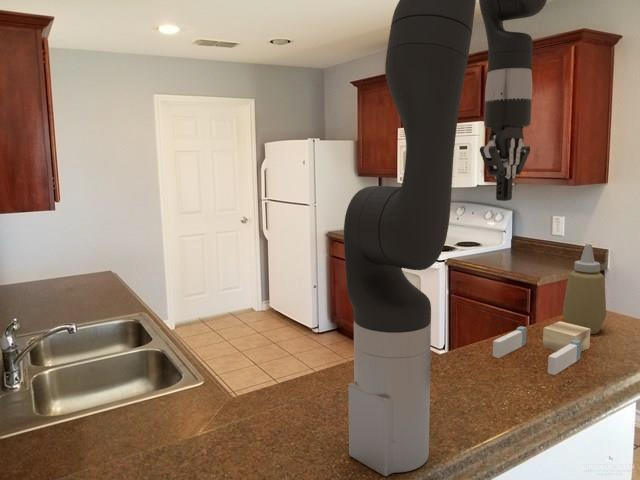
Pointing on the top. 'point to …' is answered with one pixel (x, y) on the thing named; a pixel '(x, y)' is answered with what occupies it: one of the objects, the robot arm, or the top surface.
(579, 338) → the maple block
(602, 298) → the squeeze bottle
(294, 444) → the top surface
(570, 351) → the corridor
